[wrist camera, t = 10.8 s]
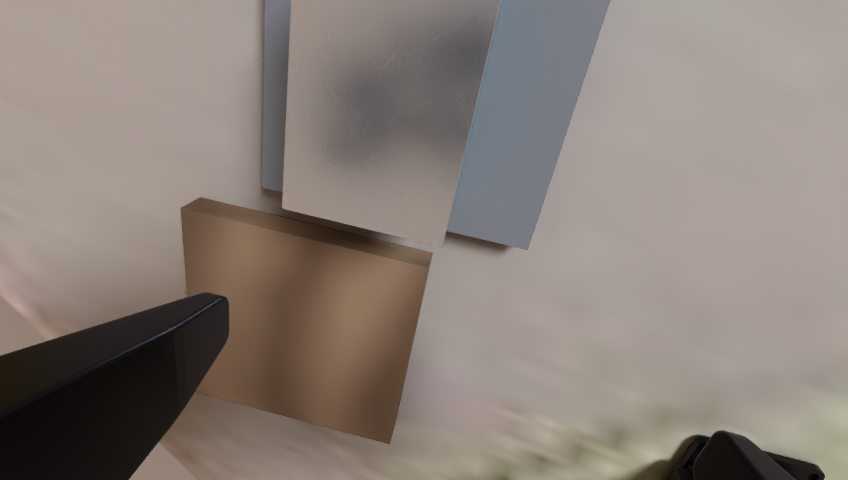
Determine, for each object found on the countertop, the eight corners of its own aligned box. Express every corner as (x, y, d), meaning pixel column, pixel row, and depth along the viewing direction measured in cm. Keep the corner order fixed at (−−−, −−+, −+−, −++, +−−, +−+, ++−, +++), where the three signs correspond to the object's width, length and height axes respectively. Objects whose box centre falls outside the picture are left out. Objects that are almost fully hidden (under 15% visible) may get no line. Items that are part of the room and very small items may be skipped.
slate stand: (627, -80, 15) (640, -91, 13) (525, 235, 20) (527, 250, 19) (287, -143, 15) (267, -160, 14) (277, 177, 21) (261, 187, 19)
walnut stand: (432, 252, 21) (428, 267, 20) (395, 423, 26) (389, 444, 25) (200, 197, 22) (180, 207, 20) (209, 374, 27) (194, 391, 26)
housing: (457, 188, 18) (441, 247, 13) (341, 161, 18) (282, 208, 13) (511, -37, 14) (518, -77, 9) (365, -66, 15) (296, -120, 10)
